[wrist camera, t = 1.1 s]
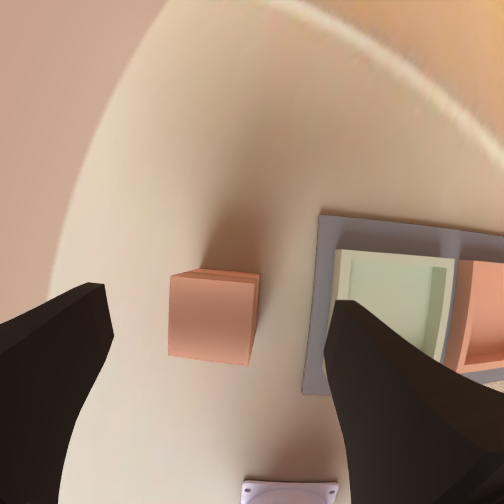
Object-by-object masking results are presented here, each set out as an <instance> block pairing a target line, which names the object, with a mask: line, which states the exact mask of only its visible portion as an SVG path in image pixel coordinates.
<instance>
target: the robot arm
mask: <svg viewBox="0 0 504 504" xmlns="http://www.w3.org/2000/svg"><path fill="white" fill-rule="evenodd" d="M113 338H114V333H113V328H112V323H111V318H110V313H109V308H108V303H107V297H106V291H105V285H104V284H99V283H90V282H88V283H85V284H82V285H80V286H77V287H75V288H73V289H71V290H69V291H67V292H65V293H63V294H61V295H59V296H57V297H55V298H53V299H51V300H49V301H47V302H45V303H44V304H42V305H40V306H38V307H36V308H34V309H32V310H30V311H28V312H26V313H24V314H22V315H19V316H17V317H15V318H14V319H11V320H9V321H7V322H4V323H2V324H0V504H58V496H59V488H60V482H61V476H62V470H63V465H64V461H65V457H66V453H67V449H68V445H69V442H70V438H71V435H72V432H73V429H74V426H75V422H76V420H77V417H78V415H79V413H80V410H81V408H82V406H83V404H84V402H85V400H86V398H87V396H88V394H89V392H90V390H91V388H92V386H93V384H94V382H95V380H96V378H97V376H98V374H99V372H100V371H101V369H102V367H103V365H104V363H105V361H106V358H107V355H108V352H109V350H110V347H111V344H112V341H113ZM323 353H324V360H325V368H326V374H327V380H328V383H329V387H330V390H331V394H332V398H333V401H334V405H335V408H336V412H337V415H338V419H339V422H340V426H341V430H342V433H343V438H344V442H345V447H346V454H347V462H348V470H349V480H350V491H351V504H504V393H502V392H499V391H496V390H494V389H491V388H489V387H486V386H484V385H481V384H479V383H477V382H475V381H473V380H471V379H469V378H467V377H464V376H462V375H460V374H459V373H457V372H455V371H453V370H451V369H449V368H448V367H446V366H444V365H443V364H441V363H439V362H437V361H436V360H434V359H433V358H431V357H429V356H428V355H426V354H425V353H423V352H422V351H421V350H419V349H418V348H416V347H415V346H414V345H412V344H411V343H409V342H408V341H407V340H405V339H404V338H403V337H401V336H400V335H399V334H397V333H396V332H395V331H394V330H392V329H391V328H390V327H389V326H387V325H386V324H385V323H384V322H382V321H381V320H380V319H379V318H377V317H376V316H375V315H374V314H372V313H371V312H370V311H369V310H367V309H366V308H365V307H363V306H362V305H361V304H359V303H358V302H356V301H355V300H335V304H334V309H333V313H332V318H331V322H330V326H329V330H328V334H327V339H326V343H325V347H324V351H323ZM246 488H248V489H246ZM338 489H339V485H338V483H335V482H331V483H284V482H265V481H252V480H246V481H244V482H243V483H242V491H241V501H240V504H333V503H334V501H335V498H336V495H337V492H338ZM332 490H333V491H332ZM330 491H331V492H330Z"/></svg>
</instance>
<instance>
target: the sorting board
mask: <svg viewBox="0 0 504 504" xmlns="http://www.w3.org/2000/svg"><path fill="white" fill-rule="evenodd" d="M335 300H355V301H356V302H358V303H359V304H361V305H362V306H363V307H365V308H366V309H367V310H369V311H370V312H371V313H372V314H374V315H375V316H376V317H377V318H379V319H380V320H381V321H382V322H384V323H385V324H386V325H387V326H389V327H390V328H391V329H392V330H394V331H395V332H396V333H397V334H399V335H400V336H401V337H403V338H404V339H405V340H407V341H408V342H409V343H411V344H412V345H414V346H415V347H416V348H418V349H419V350H421V351H422V352H423V353H425V354H426V355H428V356H429V357H431V358H433V359H434V360H436V361H437V362H439V363H441V364H443V365H444V366H446V367H448V368H449V369H451V370H453V371H455V372H457V373H459V374H460V375H462V376H464V377H467V378H469V379H471V380H473V381H475V382H477V383H479V384H484V383H490V382H495V381H501V380H504V237H502V236H496V235H489V234H482V233H476V232H469V231H462V230H454V229H447V228H439V227H432V226H424V225H415V224H407V223H398V222H389V221H380V220H371V219H361V218H351V217H341V216H330V215H319V220H318V236H317V250H316V263H315V275H314V286H313V297H312V307H311V317H310V326H309V335H308V343H307V352H306V360H305V367H304V375H303V382H302V389H301V392H302V394H303V395H332V394H331V390H330V387H329V383H328V380H327V374H326V368H325V360H324V353H323V351H324V347H325V343H326V339H327V334H328V330H329V326H330V322H331V318H332V313H333V309H334V304H335Z"/></svg>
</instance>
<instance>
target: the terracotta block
mask: <svg viewBox="0 0 504 504" xmlns="http://www.w3.org/2000/svg"><path fill="white" fill-rule="evenodd" d="M259 283H260V273H247V272H235V271H223V270H211V269H196V270H192V271H188V272H184V273H180V274H176V275H172V276H170V297H169V329H168V355H170V356H176V357H182V358H189V359H196V360H203V361H211V362H219V363H228V364H237V365H247V366H248V364H249V360H250V356H251V351H252V347H253V342H254V338H255V334H256V321H257V309H258V296H259Z"/></svg>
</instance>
